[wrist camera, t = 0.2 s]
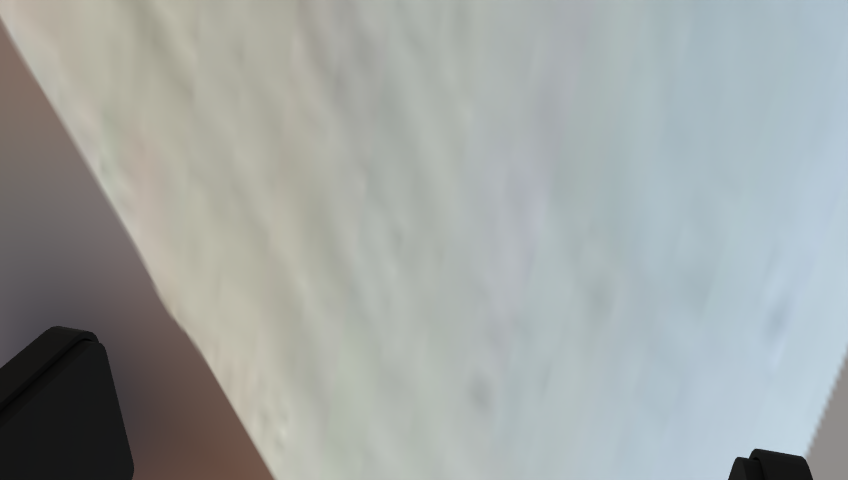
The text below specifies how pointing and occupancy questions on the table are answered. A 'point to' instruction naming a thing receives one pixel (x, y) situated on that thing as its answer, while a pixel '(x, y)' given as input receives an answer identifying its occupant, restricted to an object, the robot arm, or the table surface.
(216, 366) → the table surface
